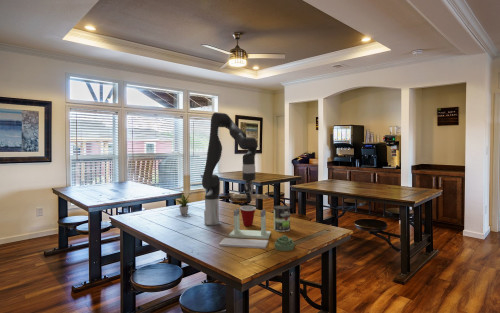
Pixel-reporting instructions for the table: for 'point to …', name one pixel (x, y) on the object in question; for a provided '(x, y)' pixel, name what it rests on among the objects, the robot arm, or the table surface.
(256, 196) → the rail
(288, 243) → the decorative artifact
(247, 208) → the plastic cup
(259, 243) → the mat
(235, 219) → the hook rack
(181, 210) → the house plant
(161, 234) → the table surface
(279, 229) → the coffee can
